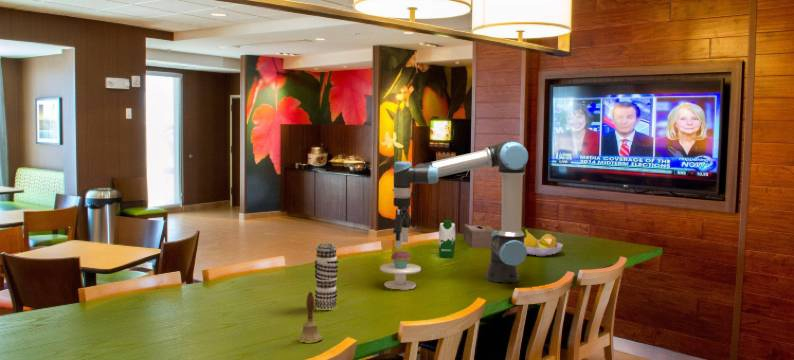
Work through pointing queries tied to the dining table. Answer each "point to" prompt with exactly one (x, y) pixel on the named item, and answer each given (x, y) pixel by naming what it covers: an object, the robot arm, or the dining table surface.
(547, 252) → the fruit bowl
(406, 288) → the cake stand
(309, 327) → the hand bell
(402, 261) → the cupcake
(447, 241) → the milk carton
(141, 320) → the dining table surface
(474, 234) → the tissue box cover
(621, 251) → the dining table surface
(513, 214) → the robot arm
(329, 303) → the decorative candle
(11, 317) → the dining table surface
